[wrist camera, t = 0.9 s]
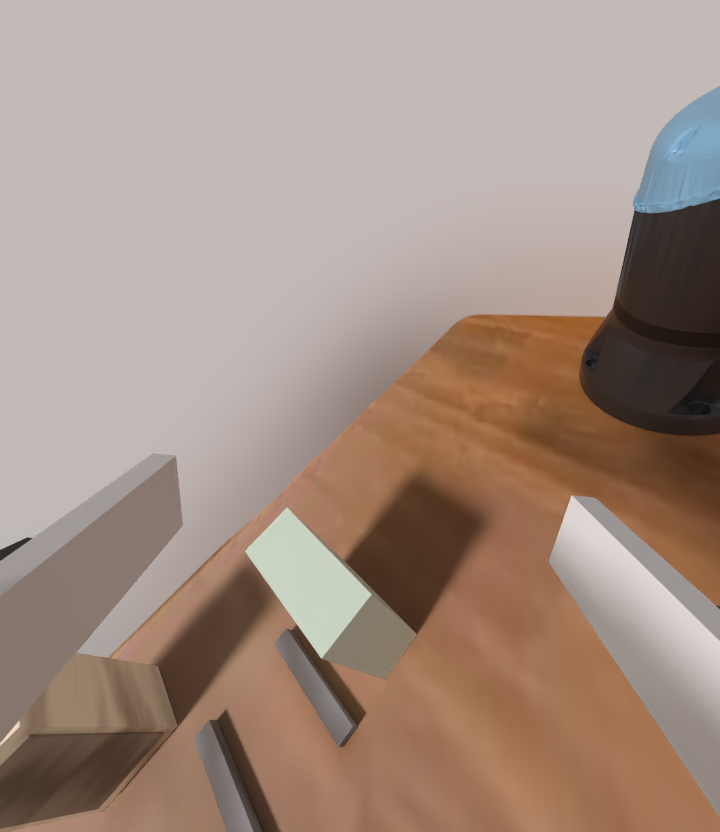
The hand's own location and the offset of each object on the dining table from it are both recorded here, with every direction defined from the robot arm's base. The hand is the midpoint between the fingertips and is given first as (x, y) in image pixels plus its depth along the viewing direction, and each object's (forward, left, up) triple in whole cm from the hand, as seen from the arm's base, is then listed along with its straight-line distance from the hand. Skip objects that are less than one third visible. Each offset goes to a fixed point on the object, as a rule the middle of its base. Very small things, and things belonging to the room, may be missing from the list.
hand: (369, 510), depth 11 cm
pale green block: (+6, -5, -22) cm, 23 cm away
